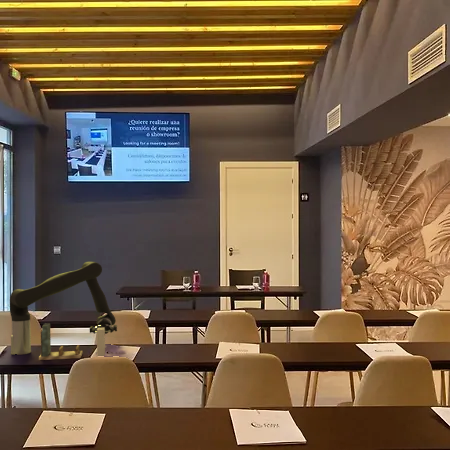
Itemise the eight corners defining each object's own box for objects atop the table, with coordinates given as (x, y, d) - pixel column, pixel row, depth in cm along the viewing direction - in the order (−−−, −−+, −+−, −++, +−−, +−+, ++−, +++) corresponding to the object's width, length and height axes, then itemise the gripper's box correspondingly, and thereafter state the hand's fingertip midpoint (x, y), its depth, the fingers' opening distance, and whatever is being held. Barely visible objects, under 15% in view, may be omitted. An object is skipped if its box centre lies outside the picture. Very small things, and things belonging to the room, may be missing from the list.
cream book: (97, 358, 277) (96, 329, 277) (98, 355, 283) (97, 327, 283) (104, 357, 278) (104, 329, 278) (105, 355, 284) (104, 327, 284)
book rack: (38, 360, 275) (38, 326, 275) (42, 355, 285) (41, 323, 285) (80, 357, 278) (80, 324, 278) (82, 353, 288) (81, 321, 288)
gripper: (91, 319, 307) (88, 324, 291) (117, 318, 309) (116, 323, 293) (91, 333, 307) (89, 339, 291) (117, 331, 309) (116, 337, 293)
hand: (102, 331), depth 292 cm, fingers open, 8 cm apart
